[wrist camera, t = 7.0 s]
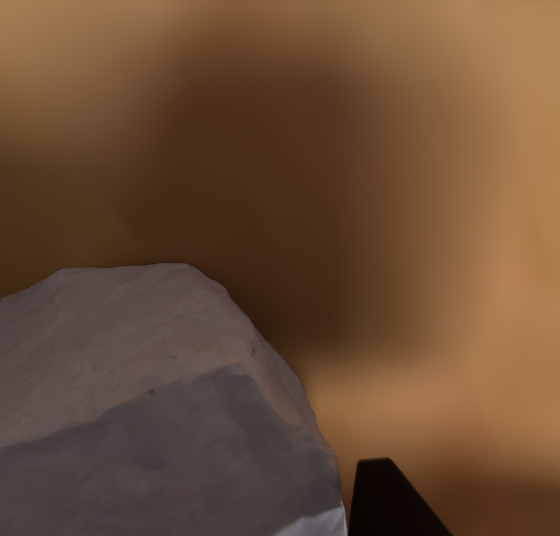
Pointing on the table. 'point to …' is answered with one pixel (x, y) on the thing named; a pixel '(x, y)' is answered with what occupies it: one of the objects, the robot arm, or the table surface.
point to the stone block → (153, 414)
